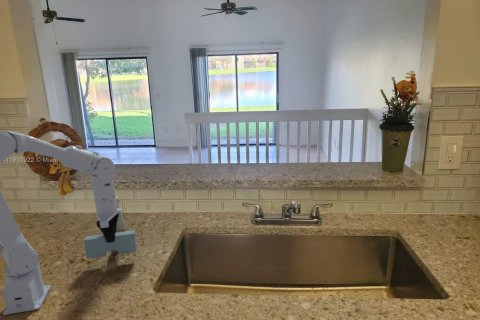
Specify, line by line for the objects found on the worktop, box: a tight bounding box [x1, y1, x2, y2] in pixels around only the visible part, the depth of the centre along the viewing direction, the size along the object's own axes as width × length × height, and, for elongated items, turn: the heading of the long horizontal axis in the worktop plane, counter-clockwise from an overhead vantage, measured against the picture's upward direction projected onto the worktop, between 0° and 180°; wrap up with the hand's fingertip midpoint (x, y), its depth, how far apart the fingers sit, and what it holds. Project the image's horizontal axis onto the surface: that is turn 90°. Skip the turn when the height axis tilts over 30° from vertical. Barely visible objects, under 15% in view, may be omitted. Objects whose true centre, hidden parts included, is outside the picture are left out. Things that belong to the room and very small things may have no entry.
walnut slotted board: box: [106, 250, 121, 276], centre depth 102 cm, size 14×2×3 cm, turn 13°
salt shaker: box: [116, 195, 126, 232], centre depth 121 cm, size 6×6×13 cm
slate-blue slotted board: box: [83, 229, 138, 260], centre depth 101 cm, size 2×14×6 cm, turn 103°
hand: (111, 239), depth 100 cm, fingers closed on slate-blue slotted board, 2 cm apart
